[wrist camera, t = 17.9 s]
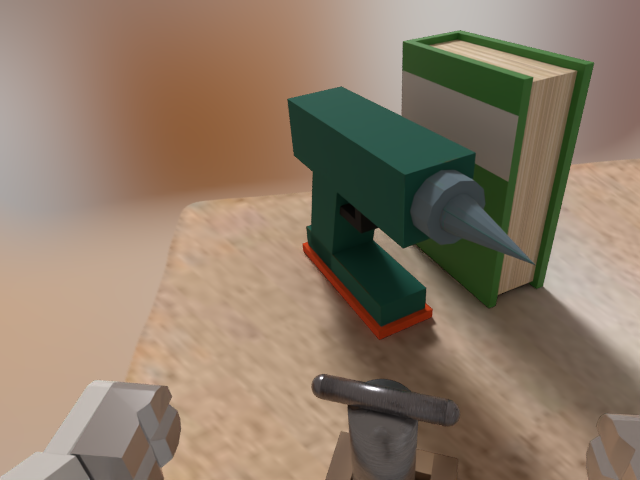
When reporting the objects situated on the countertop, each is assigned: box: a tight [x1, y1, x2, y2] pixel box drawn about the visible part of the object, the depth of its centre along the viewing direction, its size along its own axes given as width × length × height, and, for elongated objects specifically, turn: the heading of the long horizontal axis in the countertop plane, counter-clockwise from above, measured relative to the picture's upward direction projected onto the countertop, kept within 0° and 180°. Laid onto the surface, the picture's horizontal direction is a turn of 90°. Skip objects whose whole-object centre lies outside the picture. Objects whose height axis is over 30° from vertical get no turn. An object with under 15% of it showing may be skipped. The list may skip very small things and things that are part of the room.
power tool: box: [287, 87, 535, 340], centre depth 47 cm, size 32×7×20 cm, turn 26°
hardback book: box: [402, 30, 594, 308], centre depth 53 cm, size 18×7×24 cm, turn 24°
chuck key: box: [311, 374, 460, 480], centre depth 31 cm, size 8×4×13 cm, turn 72°
